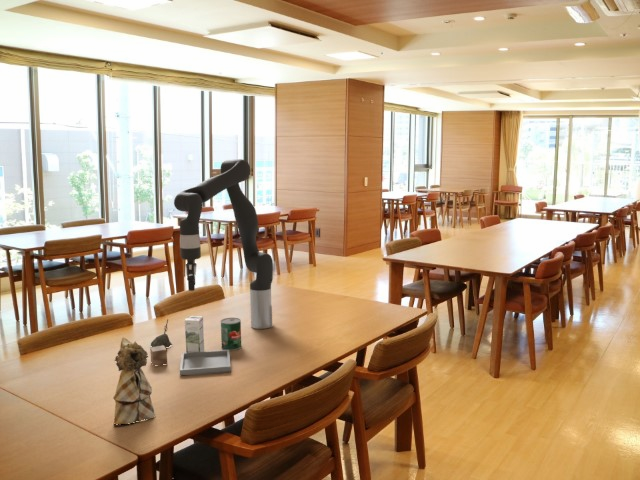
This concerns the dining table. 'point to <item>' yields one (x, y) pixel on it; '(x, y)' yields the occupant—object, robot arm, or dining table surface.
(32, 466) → the dining table surface
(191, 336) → the syrup box
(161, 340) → the sword in stone
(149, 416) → the plush toy
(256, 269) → the robot arm
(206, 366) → the slate tray
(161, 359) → the walnut block
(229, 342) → the canned tomato
